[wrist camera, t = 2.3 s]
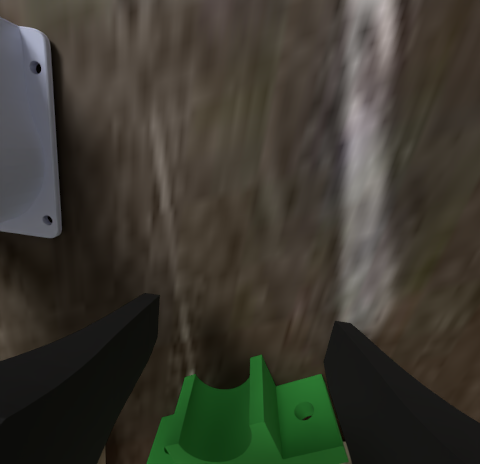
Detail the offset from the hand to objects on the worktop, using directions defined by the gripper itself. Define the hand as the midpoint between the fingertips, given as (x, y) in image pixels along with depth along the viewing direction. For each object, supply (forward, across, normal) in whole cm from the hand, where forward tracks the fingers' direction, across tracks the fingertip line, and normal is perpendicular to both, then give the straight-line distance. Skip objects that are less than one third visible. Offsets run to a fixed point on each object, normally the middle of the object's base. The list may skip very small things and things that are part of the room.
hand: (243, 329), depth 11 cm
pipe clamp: (+5, 0, +8) cm, 9 cm away
